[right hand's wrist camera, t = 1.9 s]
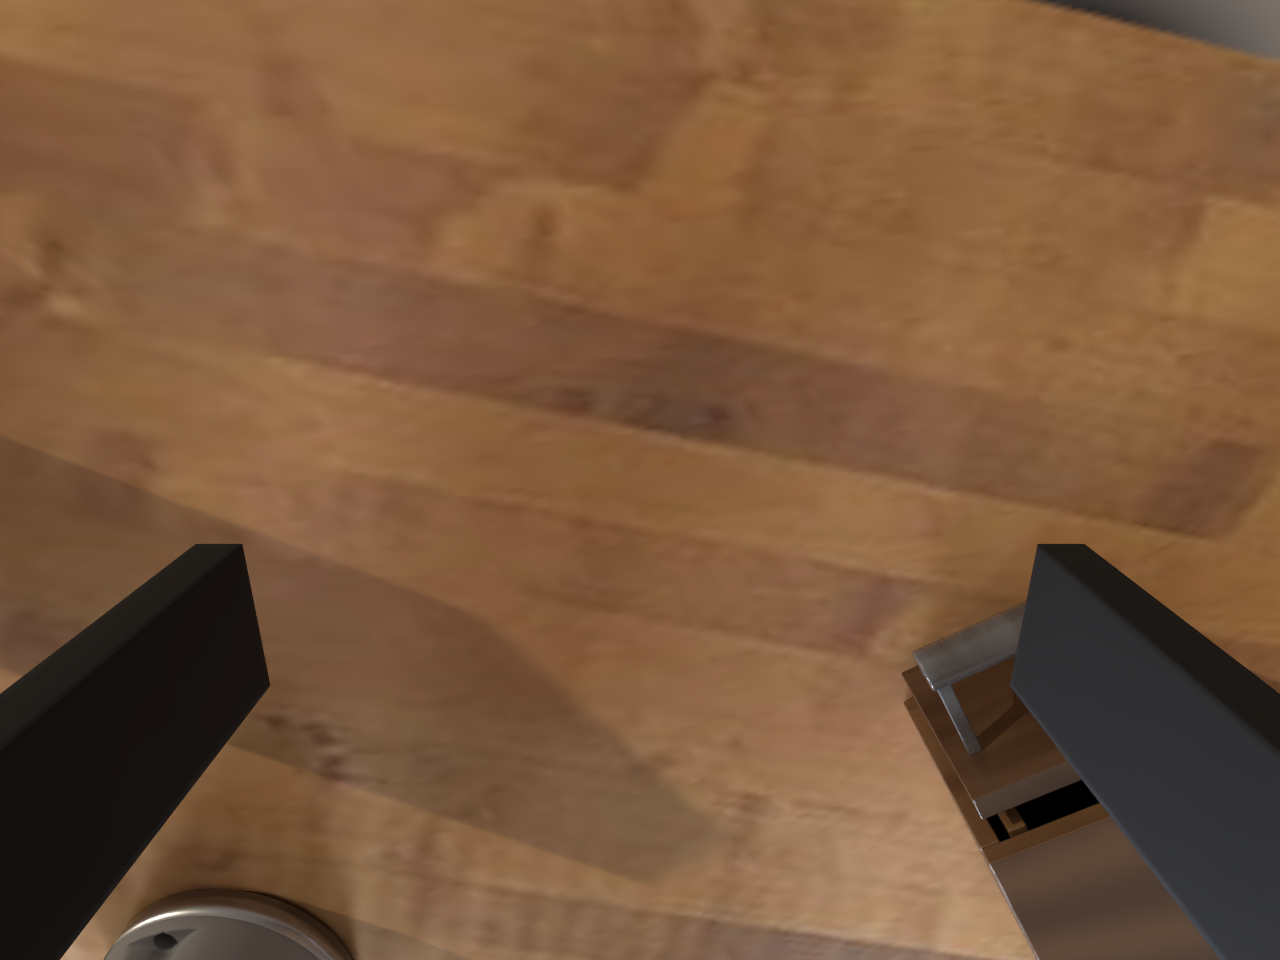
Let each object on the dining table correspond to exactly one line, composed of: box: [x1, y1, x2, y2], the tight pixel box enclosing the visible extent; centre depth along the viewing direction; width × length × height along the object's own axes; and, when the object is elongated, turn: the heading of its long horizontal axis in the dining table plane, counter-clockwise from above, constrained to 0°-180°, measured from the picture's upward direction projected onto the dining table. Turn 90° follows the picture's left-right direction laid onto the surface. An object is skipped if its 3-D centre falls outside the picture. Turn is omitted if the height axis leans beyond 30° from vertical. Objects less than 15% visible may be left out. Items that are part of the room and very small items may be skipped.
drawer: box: [902, 601, 1100, 841], centre depth 36 cm, size 24×9×9 cm, turn 29°
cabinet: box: [904, 698, 1220, 960], centre depth 38 cm, size 19×10×11 cm, turn 29°
